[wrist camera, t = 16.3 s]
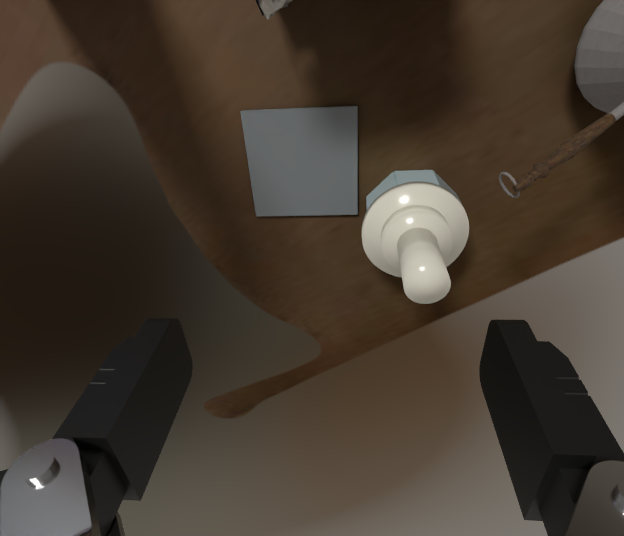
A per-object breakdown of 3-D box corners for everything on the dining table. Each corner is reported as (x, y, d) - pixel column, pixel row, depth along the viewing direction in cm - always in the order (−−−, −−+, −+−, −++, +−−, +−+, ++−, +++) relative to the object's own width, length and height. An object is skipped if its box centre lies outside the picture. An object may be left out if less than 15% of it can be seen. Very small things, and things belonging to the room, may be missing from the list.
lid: (361, 272, 48) (363, 332, 40) (361, 183, 42) (363, 231, 34) (459, 271, 47) (482, 333, 39) (473, 179, 41) (504, 228, 33)
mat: (256, 214, 50) (256, 216, 49) (241, 110, 43) (240, 111, 43) (357, 213, 48) (357, 214, 48) (357, 105, 42) (357, 106, 41)
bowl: (365, 249, 51) (366, 267, 48) (366, 171, 46) (367, 185, 42) (449, 248, 50) (456, 267, 47) (460, 169, 45) (469, 183, 41)
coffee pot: (697, -75, 32) (911, -116, 20) (716, 62, 37) (898, 98, 25) (439, 83, 40) (478, 125, 28) (483, 179, 45) (532, 251, 33)
